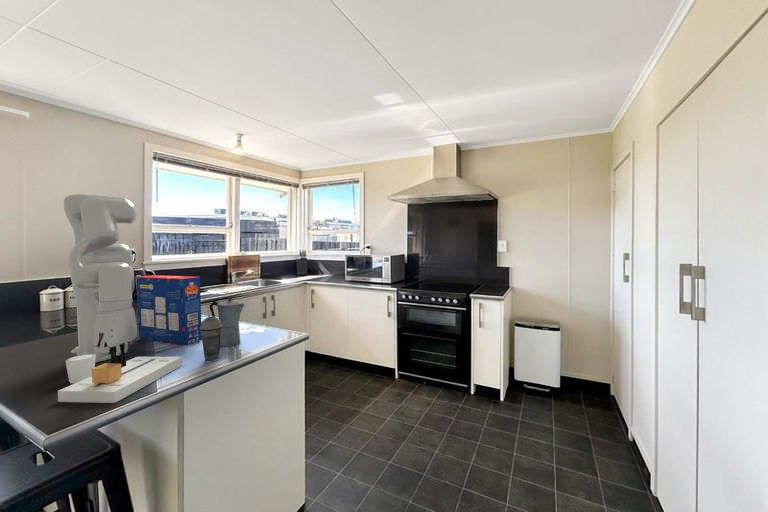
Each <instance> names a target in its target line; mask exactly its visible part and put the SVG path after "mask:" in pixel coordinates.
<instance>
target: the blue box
mask: <svg viewBox="0 0 768 512" xmlns="http://www.w3.org/2000/svg"><path fill="white" fill-rule="evenodd" d="M135 280H136V281H135V282H136V295H137V296H136V297H137V300H136V301H137V305H136V306H137V322H138V323H137V326H138V327H137V332H138V340H139V341H146V342H155V343H161V344H168V343H169V345H177V346H183V345H184V346H183V347H186V346H189V345H191V343H192V344H194V342H195V343H197V342H196V341H198V342H200V341H199V340H201V341H202V336H201V333H200V325H201V323H202V306H201V305H202V303H201V300H202V298H201V276H186V275H157V274H155V275H154V274H153V275H152V274H151V275H144V276H143V275H142V276H136V279H135ZM188 344H189V345H188ZM185 345H186V346H185Z"/></svg>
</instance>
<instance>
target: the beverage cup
mask: <svg viewBox="0 0 768 512" xmlns="http://www.w3.org/2000/svg"><path fill="white" fill-rule="evenodd" d="M206 309H207V317H206V318H204V319H203V320H201V325H200V333H201V336H202V340H201V341H202V350H203V355H204V356H203V357H204V361H205V362H207V361H211V362H215V361H214V360H216V361H218V360H219V359H220V353H221V352H220V351H221V346H220V338H221V331H222V324H221V322H220V320H219V317H218V318H217V317H216V316H215V317H213V316H211V315H210V314H211V313H210V306H209V304H206ZM217 359H218V360H217Z"/></svg>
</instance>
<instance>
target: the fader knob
mask: <svg viewBox="0 0 768 512" xmlns="http://www.w3.org/2000/svg"><path fill="white" fill-rule="evenodd" d="M121 377H122V370H121V364H114V363H110V362H109V363H102V364H100V365H98V366H95V368H92V383H111V382H113V381H115V380H117V379H119V378H121Z"/></svg>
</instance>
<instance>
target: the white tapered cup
mask: <svg viewBox="0 0 768 512" xmlns="http://www.w3.org/2000/svg"><path fill="white" fill-rule="evenodd" d="M95 357H96V355H95V354H85V355H79V356H77V355H75V356H72V357H69V358H67V359H66V360H65V365H66V371H67V375H68V376H67V377H68V382H70V384H75V383H77V382H80V381H82V380H84V379H86V378H89V377H91V376H92V368H95V367H96V366H95V365H96V363H95Z"/></svg>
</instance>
